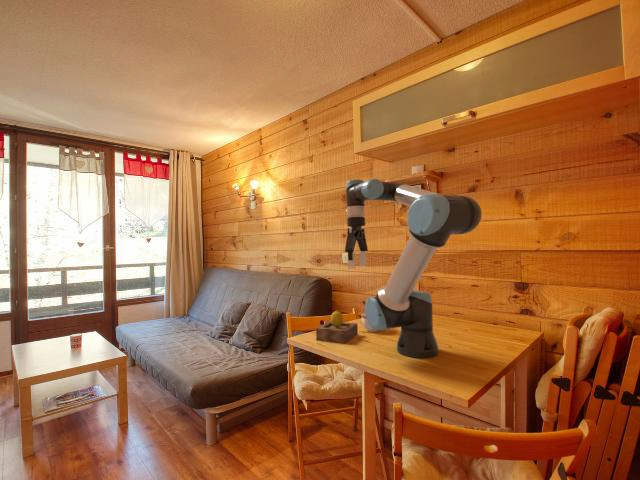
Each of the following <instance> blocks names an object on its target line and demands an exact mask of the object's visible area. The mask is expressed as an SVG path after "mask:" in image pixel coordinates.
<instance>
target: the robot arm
mask: <svg viewBox="0 0 640 480" xmlns="http://www.w3.org/2000/svg"><path fill="white" fill-rule="evenodd" d="M345 187H346V188H345V192H346V193H345V195H346V210H345V212H346V215H347V218H346V225H347V235H346V239H345V240H346V241H345V246H344V247H345V248H344V252H345V253H347V269H352V270H353V269H356V259H355V258H356V257H355V253H356V252H355V251H354V250H355V246H356V244H357V245H358V249H359V252H358V253H359V267H366V266H367V253H366V252H368V250H369V249H368V245H367V243H368V242H367V239H366V233H365V228H362V227H364V226H365V227H366V217H364V216H366V208H365V203H366V201H390V202H395V203H397V204H400V205H404V206H406V207H409V209H408V211H407V215H406V217H407V220H406V223H407V226H408V233H409V235H410V236H409V238H408V240H407V243H406V245H405V247H404V249H403V250H402V252H401V255H400V257H399V259H398V260H397V263H396V265H395V267H394V268H393V271H392V273H391V275H390V277H389V279H388V281H387V283H386V285H384V286H381V287H379V289H378V291H377V294H376V295H375V296H371V297H368V298H367V299H366V301H365V304H364V313H366V317H367V320H368V322H369V324H370V325H371V326H372V327H373V328H374V329H376V330H379V331H382V330H383V331H385V330H389V329H396V328H400V334H399V336H398V341H397V344H396V351H397V352H398V353H399V354H400V355H403V356H406V357H410V358H416V359H417V358H419V359H421V358H422V359H423V358H427V359H428V358H433V357H436V356H438V355H439V346H438V342H437V340H436V339H437V338H436V337H435V334H434V325H433V302H432V300H433V299H432V294H430V293H429V292H427V291H422V290H415V288H416V285H417V284H418V282H419V280H420V279H421V277H422V275H423V273H424V272H425V270H426V268H427V266H428V265H429V263H430V261H431V259H432V257H433V256H434V254H435V252H436V251H437V249H441V248H444V246H445V245H446V244H447V242H448V240H449V239H450V237H451V236H452V235H465V234H468V233H470V232H472V231H474V230H475V229H476V228H477V227H478V226H479V224H480V223H481V221H482V218H483V217H482V216H483V215H482V214H483V213H482V208H481V205H479V203H478V201H477V200H476V199H474V198H472V197H470V196H466V195H458V194H451V195H450V194H448V195H446V194H440V193H437V192H433V191H429V190H426V189H423V188H418V187H415V186H411V185H409V184H408V183H405V182H401V181H398V182H396V181H395V182H392V181H381V180H379V179H378V178H372V179H371V178H369V179H367V180H365V181H364V180H363V179H358V178H357V179H350V180H347V181H346V186H345Z"/></svg>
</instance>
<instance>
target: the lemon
mask: <svg viewBox="0 0 640 480" xmlns="http://www.w3.org/2000/svg"><path fill="white" fill-rule="evenodd" d="M330 321H331V323H332V325H333V326H334V327H336V328H339V327H340V326H341V325H342V324H343V322H344V317H343V314H342V312H340V311H338V310H335V311H333V312H332V314H331V315H330Z"/></svg>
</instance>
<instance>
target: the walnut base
mask: <svg viewBox="0 0 640 480" xmlns="http://www.w3.org/2000/svg"><path fill="white" fill-rule="evenodd" d="M358 335H359V333H358V323H355V322H344V321H343V324H342V325H341V326H340V327H339V328H336V327H334V326H333V325H332V323H331V320H329V321H327V322H325V323H323V324H321V325H320V326H317V327H315V336H316V337H315V339H316V341H322V342H331V343H339V344H347V343H349V342H350V341H352V340H353V339H354V338H356V337H357V336H358Z"/></svg>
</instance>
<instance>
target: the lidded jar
mask: <svg viewBox="0 0 640 480" xmlns="http://www.w3.org/2000/svg"><path fill="white" fill-rule="evenodd" d="M360 314H361V323H362V326H363V327H364V329H365V330H366V331H367V332H370V333H378V332H380V330H376V329H374V328H373V327H372V326H371V325H370V324H369V322H368V320H367V317H366V313H365V312H363V313H360Z"/></svg>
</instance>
